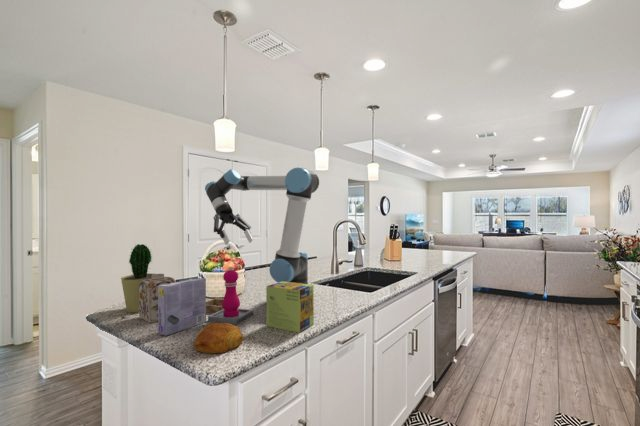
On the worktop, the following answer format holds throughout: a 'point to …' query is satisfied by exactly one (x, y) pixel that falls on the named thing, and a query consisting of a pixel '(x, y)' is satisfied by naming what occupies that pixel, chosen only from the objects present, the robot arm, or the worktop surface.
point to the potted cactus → (136, 276)
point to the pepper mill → (230, 294)
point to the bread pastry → (218, 338)
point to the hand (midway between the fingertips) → (239, 242)
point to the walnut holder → (211, 305)
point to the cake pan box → (181, 305)
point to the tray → (231, 320)
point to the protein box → (290, 306)
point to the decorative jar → (151, 296)
